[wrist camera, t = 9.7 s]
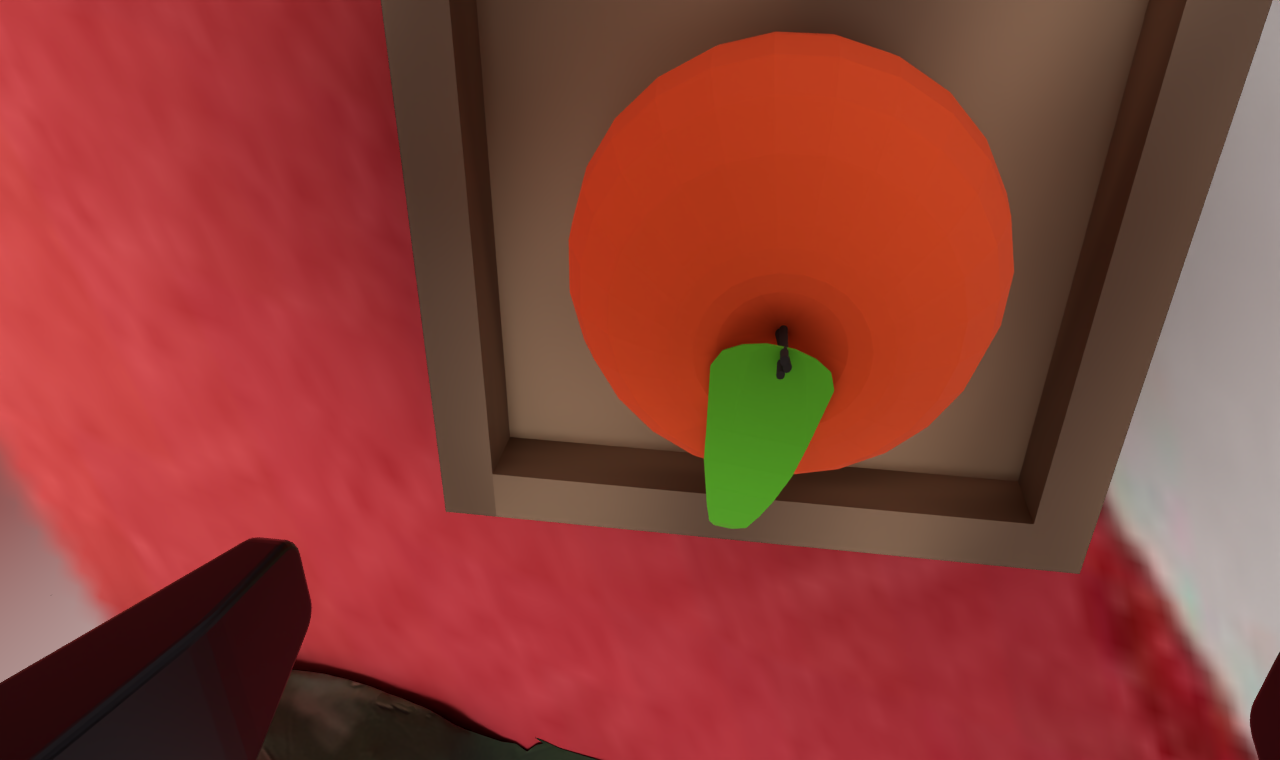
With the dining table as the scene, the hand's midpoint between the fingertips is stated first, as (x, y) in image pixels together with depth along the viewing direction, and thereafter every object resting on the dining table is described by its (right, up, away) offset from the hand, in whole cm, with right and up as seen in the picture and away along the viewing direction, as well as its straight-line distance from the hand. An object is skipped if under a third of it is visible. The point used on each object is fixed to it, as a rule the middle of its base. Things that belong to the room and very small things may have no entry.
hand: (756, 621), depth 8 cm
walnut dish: (+2, +6, +10) cm, 12 cm away
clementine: (+2, +6, +10) cm, 11 cm away
